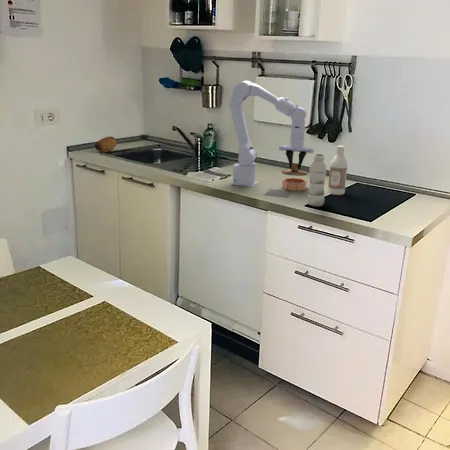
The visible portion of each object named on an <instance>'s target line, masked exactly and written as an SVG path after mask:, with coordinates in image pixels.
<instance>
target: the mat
mask: <svg viewBox="0 0 450 450" xmlns="http://www.w3.org/2000/svg"><path fill="white" fill-rule="evenodd" d="M292 194H293V190H283V189H282V190H281V189H275V188H274V189H273V188H270V189H268V190H267V191H266V192H265V193H264V196H268V197H277V198H286V199H288V198H289V197H290V196H291V195H292Z"/></svg>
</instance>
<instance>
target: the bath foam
mask: <svg viewBox="0 0 450 450" xmlns="http://www.w3.org/2000/svg"><path fill="white" fill-rule="evenodd" d="M344 151H345V146H344V145H337V146H336V154H335V156H334V157H333V158H332V159H331V162H330V164H329V174H328V175H329V176H328V186H327V193H329V194H331V195H333V196H334V195H335V196H342V195H344V194H345V190H346V182H347V172H348V162H347V159H346V157H345V155H344Z"/></svg>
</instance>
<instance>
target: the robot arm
mask: <svg viewBox="0 0 450 450" xmlns="http://www.w3.org/2000/svg"><path fill="white" fill-rule="evenodd" d="M249 96H250V97H259V98H261V99H263V100H265V101H266V102H268V103H270V104H272V105H274V107H275V110H276V111H277V112H280V113H282V114H283V115H285V116H287V117H290V119H291V126H290V127H291V128H290V135H289V136H290V138H289V139H290V140H289V145H284V144H282V145H279V146H278V149H279V151H285V155H286V159H287V161H288V165H289V169H291V167H292V163H294V162H293V159H294V152H296V153H298V170H301V168H302V165H303V161H304V159H305V157H306V155H307V154H315V148H314V147H309V146H308V147H307V146H304V144H305V131H306V125H305V124H306V118H307V110H306V109H305V108H304V107H303V106H300V105H299V104H298V103H296V104H295V103H294V102H293V101H290V100H289V99H290V98H288V97H287V96H286V97H284V96H281V97H277V95H274V94H273V93H271V92H270V91H268V90H267V89H265V88H264V87H262V86H261V85H259V84H257V83H255V82H252V81H250V80H243V81H239V82H237V83H236V84H235V86H234V87H233V88H232V93H231V96H230V99H229V103H228V105H229V109H230V112H231V117H232V120H233V125H234V131H235V134H236V137H237V142H238V148H237V149H238V156H237V157H238V158H237V159H238V162H239V163H234V165H233V168H232V169H233V170H232V183H231V185H233V186H246V187H254V186H255V185H256V184H258V181H256V165H257V163H256V162H255V160H256V159H257V157H258V155H257V151H256V149H255V148H254V146H253V143H252V142H251V139H250V135H249V130H248V125H247V122H246V116H245V113H244V109H243V104H244V103H245V101H246V99H247V98H248V97H249Z"/></svg>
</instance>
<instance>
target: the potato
mask: <svg viewBox="0 0 450 450" xmlns="http://www.w3.org/2000/svg"><path fill="white" fill-rule="evenodd" d="M116 147H117V139H116V137H114V136H110V135H109V136H106V137H103V138H100V140H98V141H96V143H94V148H95V150H97V151H99V153H100V152H101V153H106V152H105V151H109V152H111V151H113V150H114V149H115V148H116Z"/></svg>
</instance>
